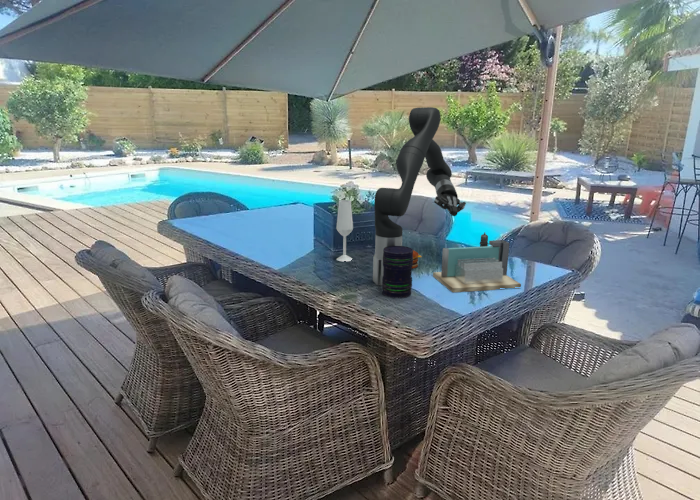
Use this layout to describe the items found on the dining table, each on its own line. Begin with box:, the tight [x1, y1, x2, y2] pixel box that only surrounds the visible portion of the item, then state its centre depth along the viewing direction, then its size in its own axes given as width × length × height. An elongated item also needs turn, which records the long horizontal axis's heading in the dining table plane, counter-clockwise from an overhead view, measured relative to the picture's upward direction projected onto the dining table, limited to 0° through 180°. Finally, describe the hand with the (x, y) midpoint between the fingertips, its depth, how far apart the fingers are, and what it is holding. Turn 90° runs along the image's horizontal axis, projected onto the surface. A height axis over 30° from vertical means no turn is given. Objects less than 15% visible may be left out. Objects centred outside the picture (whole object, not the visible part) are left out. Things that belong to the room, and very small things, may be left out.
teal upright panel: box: [440, 245, 499, 277], centre depth 182 cm, size 21×2×10 cm, turn 102°
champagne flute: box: [335, 199, 354, 262], centre depth 205 cm, size 7×7×24 cm
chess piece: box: [479, 232, 490, 247], centre depth 206 cm, size 6×6×12 cm
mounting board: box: [432, 271, 522, 293], centre depth 181 cm, size 25×18×2 cm
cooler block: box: [455, 239, 510, 284], centre depth 179 cm, size 20×12×12 cm, turn 102°
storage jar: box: [381, 245, 414, 299], centre depth 167 cm, size 10×10×15 cm
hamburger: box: [412, 249, 423, 269], centre depth 199 cm, size 9×10×7 cm
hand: (454, 214), depth 190 cm, fingers closed
